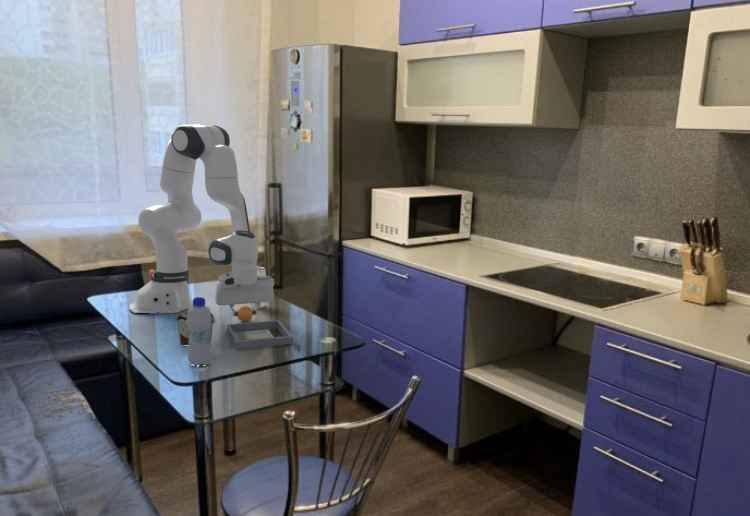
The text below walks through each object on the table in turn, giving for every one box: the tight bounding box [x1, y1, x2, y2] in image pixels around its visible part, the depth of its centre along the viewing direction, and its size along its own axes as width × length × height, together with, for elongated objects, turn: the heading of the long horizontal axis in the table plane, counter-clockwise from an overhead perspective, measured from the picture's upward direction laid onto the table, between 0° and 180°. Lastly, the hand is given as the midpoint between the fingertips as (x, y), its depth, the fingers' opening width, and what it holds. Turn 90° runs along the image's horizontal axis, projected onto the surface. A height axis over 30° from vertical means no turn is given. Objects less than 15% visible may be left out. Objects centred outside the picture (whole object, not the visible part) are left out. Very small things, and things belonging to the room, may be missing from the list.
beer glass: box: [248, 266, 267, 309], centre depth 226 cm, size 7×7×15 cm
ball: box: [236, 305, 254, 323], centre depth 208 cm, size 6×6×6 cm
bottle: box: [187, 296, 212, 366], centre depth 166 cm, size 7×7×20 cm
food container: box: [175, 310, 216, 348], centre depth 184 cm, size 12×6×10 cm, turn 84°
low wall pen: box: [225, 319, 294, 351], centre depth 192 cm, size 18×18×2 cm
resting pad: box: [242, 329, 274, 340], centre depth 193 cm, size 9×9×1 cm
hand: (244, 315), depth 208 cm, fingers closed on ball, 5 cm apart
